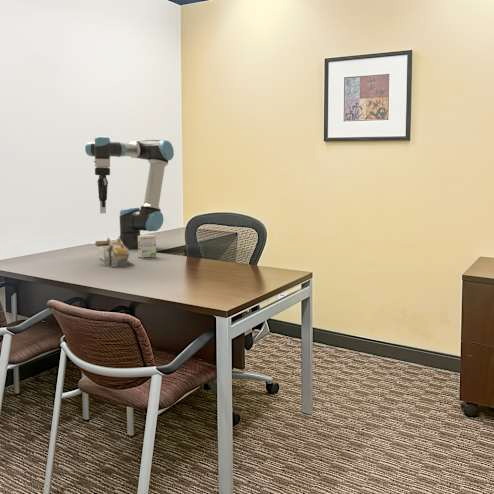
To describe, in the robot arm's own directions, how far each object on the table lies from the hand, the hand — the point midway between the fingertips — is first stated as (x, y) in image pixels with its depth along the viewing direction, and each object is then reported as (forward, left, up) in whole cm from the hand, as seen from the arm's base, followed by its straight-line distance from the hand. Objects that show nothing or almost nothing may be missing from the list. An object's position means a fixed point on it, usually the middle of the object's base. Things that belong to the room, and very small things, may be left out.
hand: (102, 213), depth 291 cm
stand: (-3, +17, -24) cm, 29 cm away
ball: (-3, +24, -19) cm, 30 cm away
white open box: (-3, +3, -24) cm, 24 cm away
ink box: (-22, +5, -24) cm, 33 cm away
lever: (0, +17, -17) cm, 24 cm away
